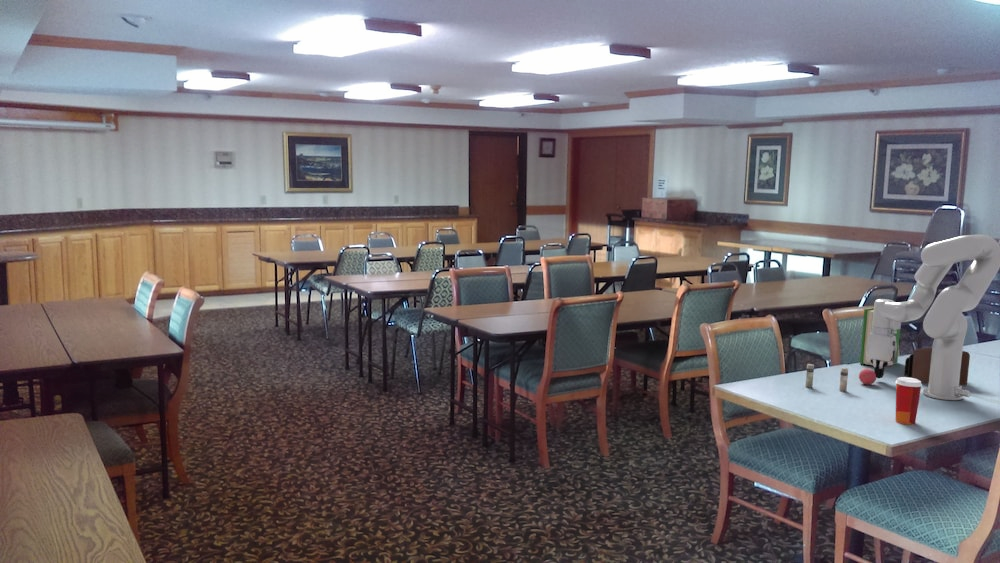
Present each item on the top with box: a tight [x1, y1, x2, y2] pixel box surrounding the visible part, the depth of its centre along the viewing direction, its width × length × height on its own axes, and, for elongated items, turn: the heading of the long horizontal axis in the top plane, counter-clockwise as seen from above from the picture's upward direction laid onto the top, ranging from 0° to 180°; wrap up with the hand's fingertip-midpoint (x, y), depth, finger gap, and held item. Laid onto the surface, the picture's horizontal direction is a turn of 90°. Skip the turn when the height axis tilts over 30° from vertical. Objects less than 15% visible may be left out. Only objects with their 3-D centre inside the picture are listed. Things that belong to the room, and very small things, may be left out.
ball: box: [858, 368, 877, 385], centre depth 294 cm, size 6×6×6 cm
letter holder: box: [903, 347, 971, 386], centre depth 302 cm, size 10×20×14 cm, turn 78°
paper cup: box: [895, 376, 923, 426], centre depth 247 cm, size 8×8×14 cm
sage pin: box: [805, 363, 815, 389], centre depth 289 cm, size 2×2×8 cm
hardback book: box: [859, 307, 902, 366], centre depth 329 cm, size 18×7×24 cm, turn 128°
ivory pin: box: [838, 367, 849, 393], centre depth 284 cm, size 2×2×8 cm
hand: (878, 377), depth 300 cm, fingers closed
